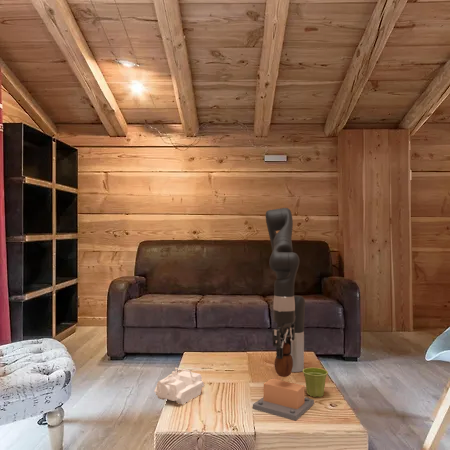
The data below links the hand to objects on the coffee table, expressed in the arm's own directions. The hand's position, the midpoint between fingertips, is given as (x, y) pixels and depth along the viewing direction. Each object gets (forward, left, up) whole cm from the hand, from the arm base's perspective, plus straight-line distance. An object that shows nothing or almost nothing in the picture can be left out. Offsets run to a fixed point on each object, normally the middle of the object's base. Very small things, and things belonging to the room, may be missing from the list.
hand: (283, 355), depth 140 cm
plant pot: (-17, +5, -18) cm, 25 cm away
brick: (0, 0, -16) cm, 16 cm away
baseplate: (0, 0, -17) cm, 17 cm away
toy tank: (+16, -35, -18) cm, 43 cm away
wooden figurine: (0, 0, -7) cm, 7 cm away
